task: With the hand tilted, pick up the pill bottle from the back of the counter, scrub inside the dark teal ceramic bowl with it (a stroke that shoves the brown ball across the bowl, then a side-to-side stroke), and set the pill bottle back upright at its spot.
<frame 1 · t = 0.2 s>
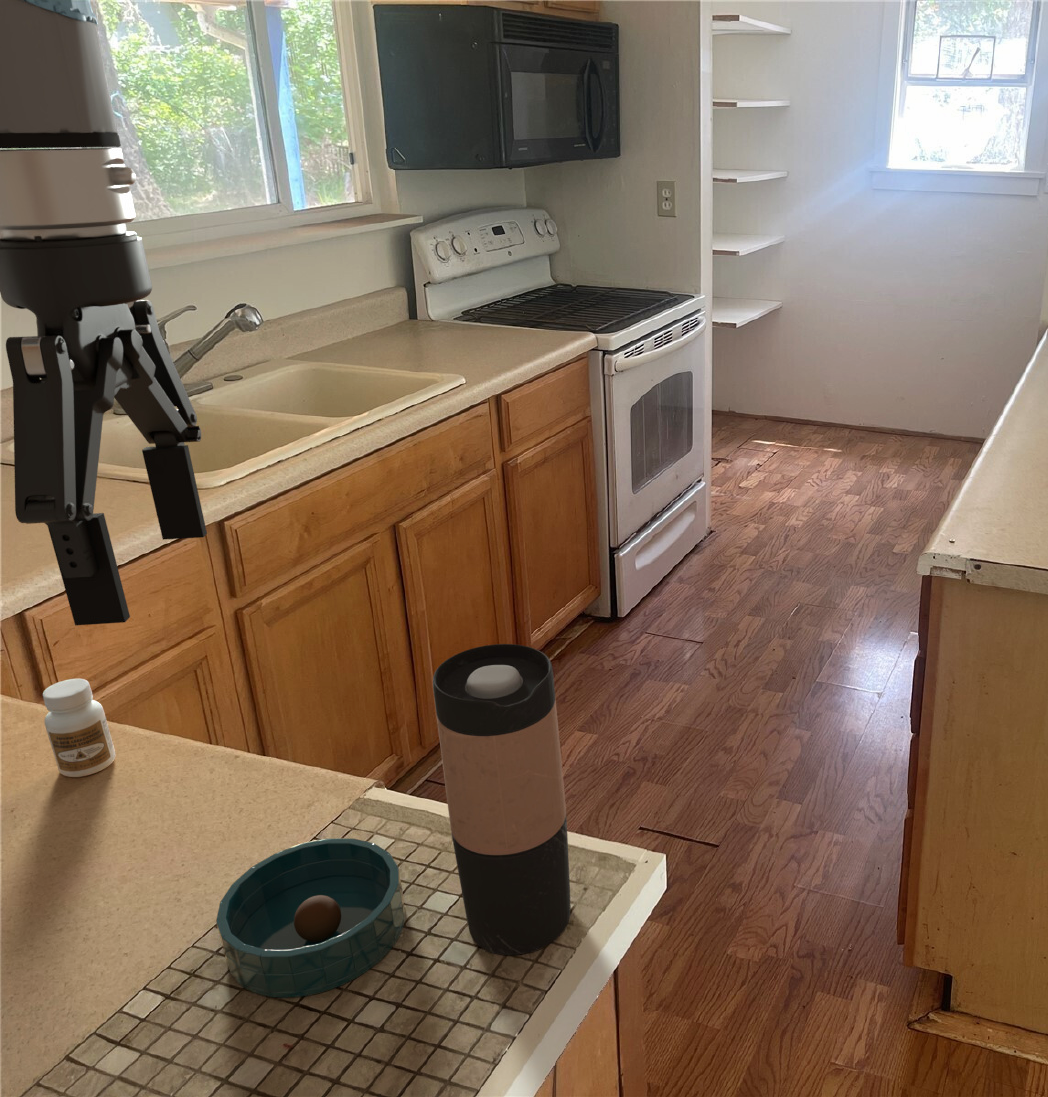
hand: (148, 575, 66), 25 cm above the countertop, tool pointing down, fingers open, 13 cm apart
bowl: (318, 932, 72), on the countertop
travel mug: (520, 920, 73), on the countertop
pill bottle: (89, 766, 91), on the countertop
brown ball: (317, 918, 70), point 2 cm above the countertop, touching bowl
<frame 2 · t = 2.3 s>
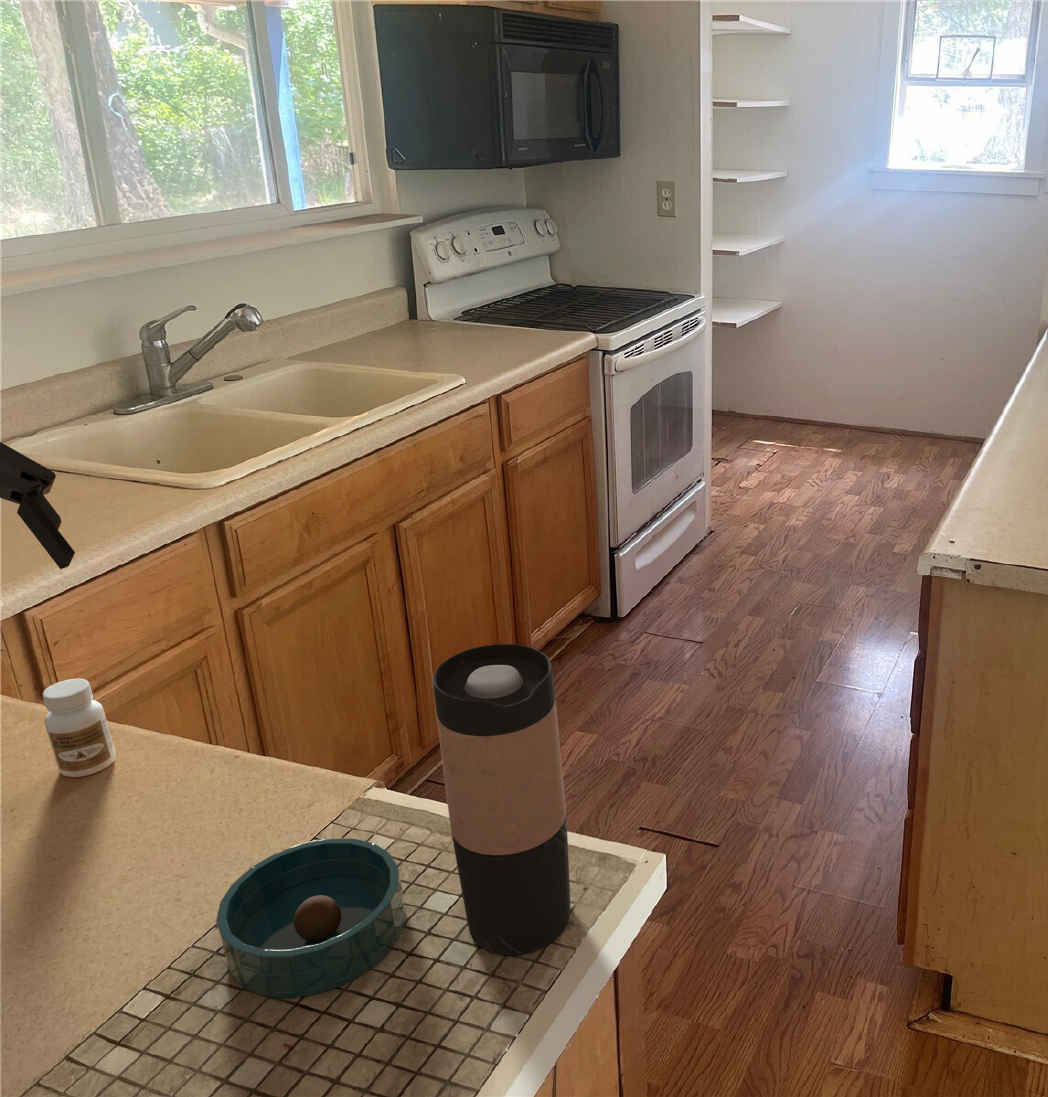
nothing on the countertop moved.
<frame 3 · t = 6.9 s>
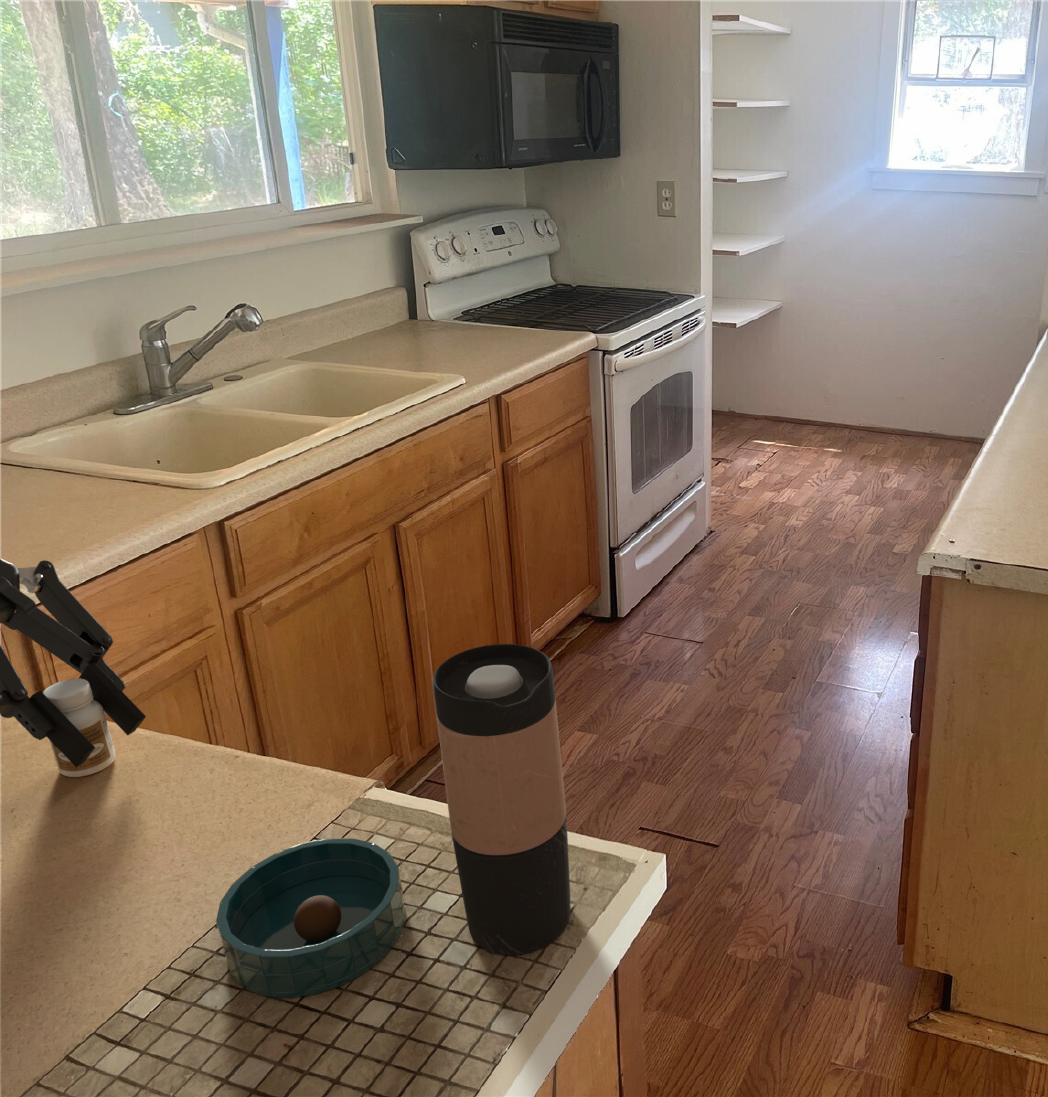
hand: (111, 740, 88), 3 cm above the countertop, tool tilted 45°, fingers closed on pill bottle, 4 cm apart
pill bottle: (88, 766, 91), on the countertop, touching gripper
everything else where it was.
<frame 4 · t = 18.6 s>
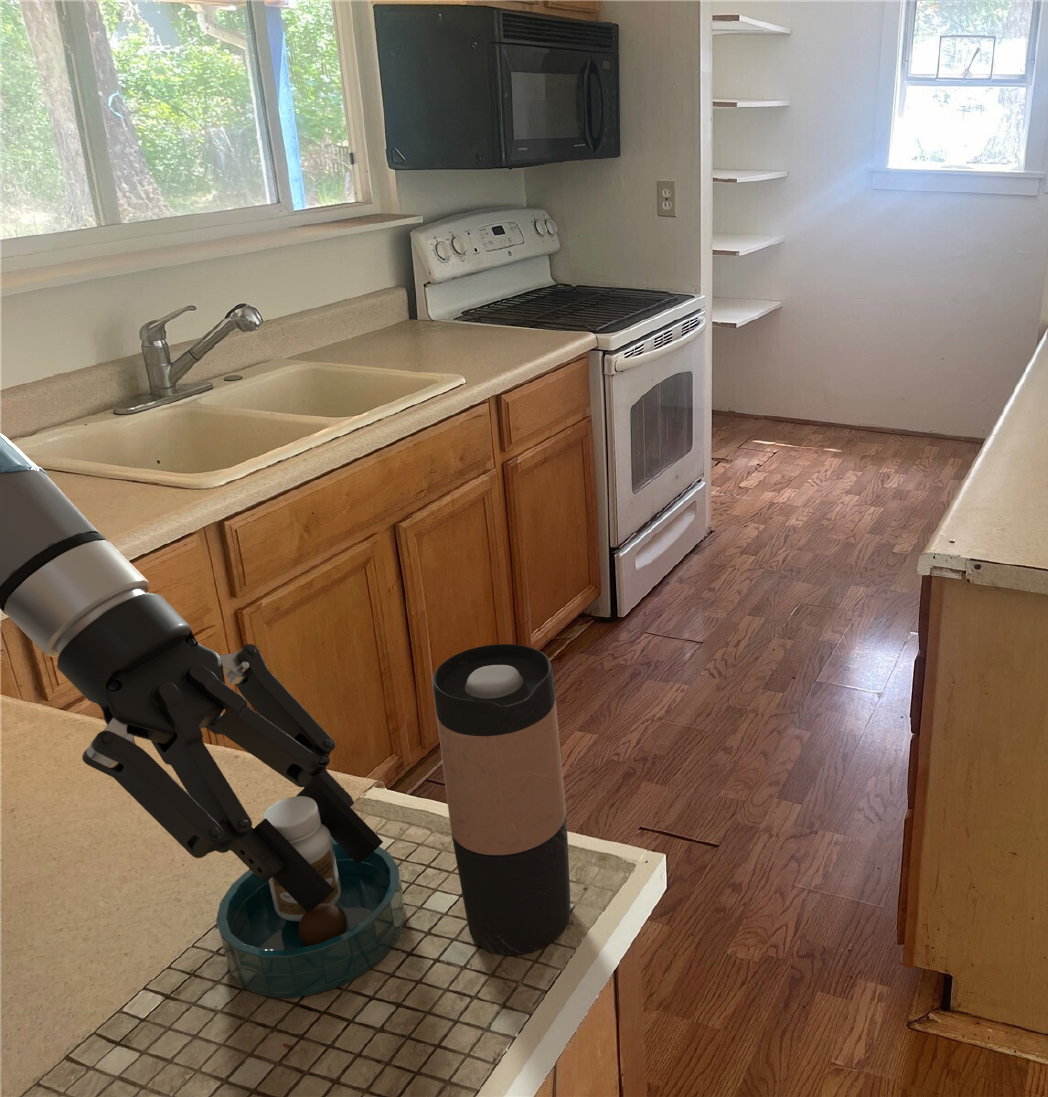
hand: (346, 876, 70), 5 cm above the countertop, tool tilted 45°, fingers closed on pill bottle, 4 cm apart
pill bottle: (309, 903, 72), point 1 cm above the countertop, touching gripper
brown ball: (322, 926, 69), point 2 cm above the countertop, tilted 38°, touching bowl, gripper
everything else where it was.
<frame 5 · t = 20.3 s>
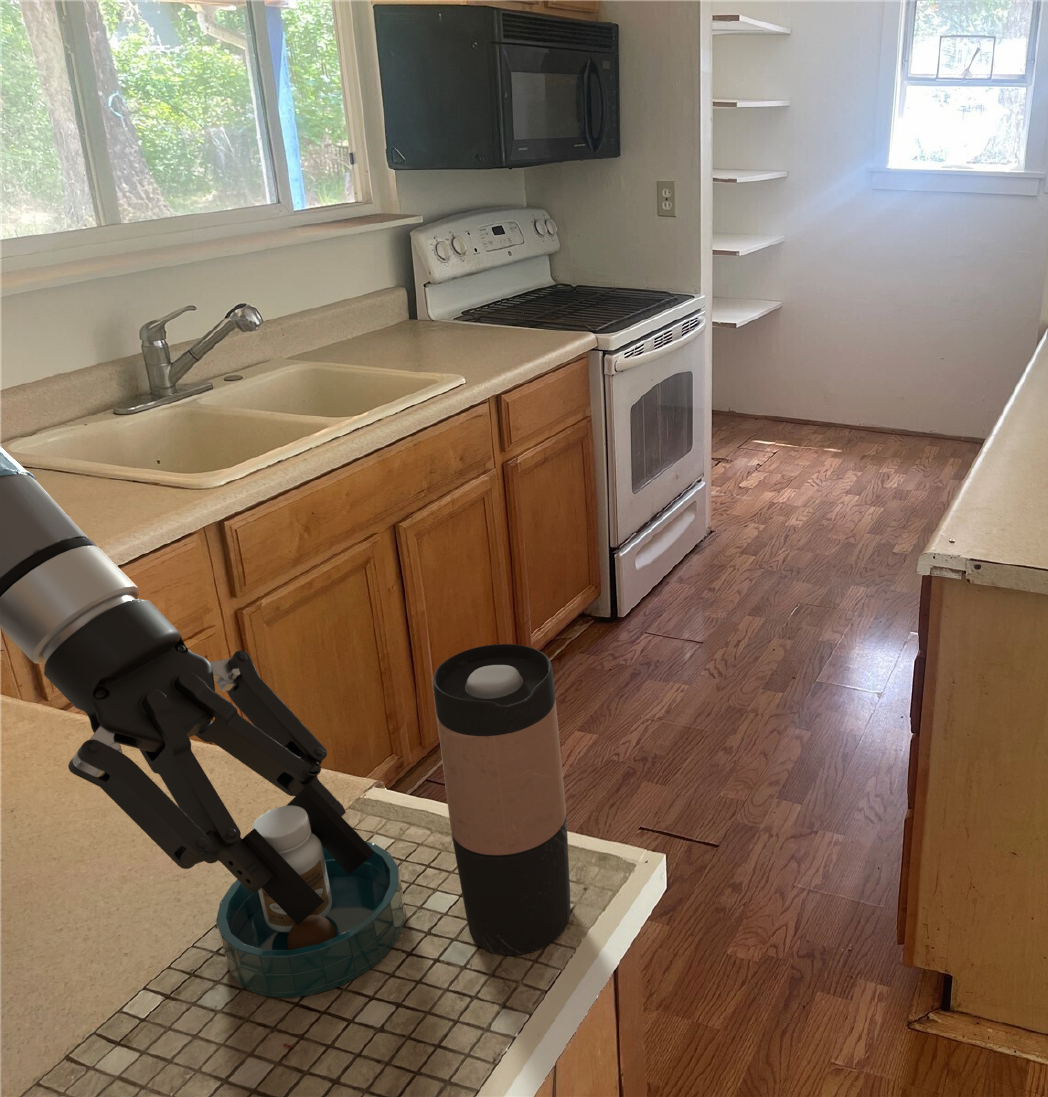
hand: (336, 887, 69), 5 cm above the countertop, tool tilted 45°, fingers closed on pill bottle, 4 cm apart
pill bottle: (300, 914, 71), point 1 cm above the countertop, touching gripper
brown ball: (311, 938, 68), point 2 cm above the countertop, tilted 45°, touching bowl, gripper
everything else where it was.
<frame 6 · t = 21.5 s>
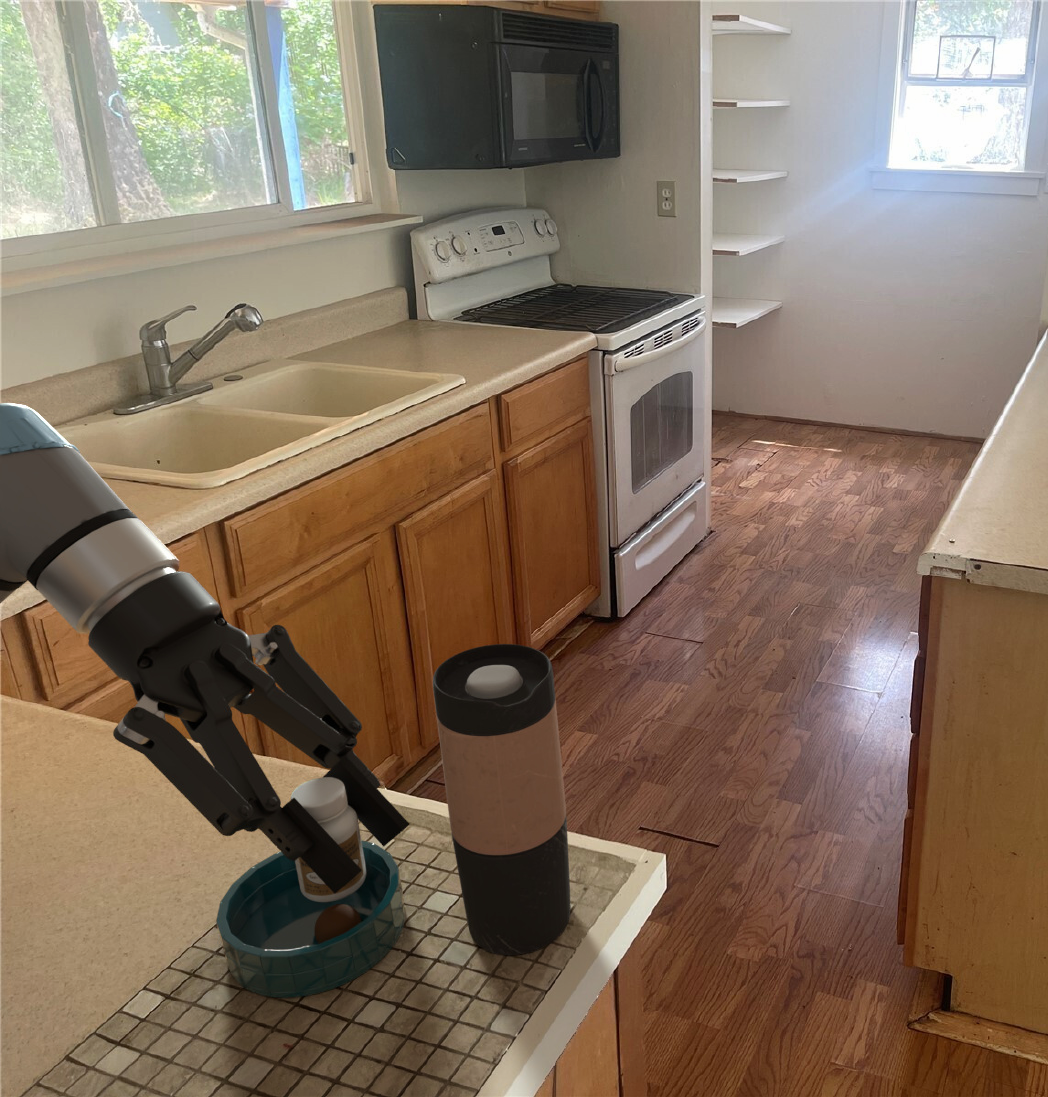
hand: (372, 857, 70), 6 cm above the countertop, tool tilted 45°, fingers closed on pill bottle, 4 cm apart
pill bottle: (334, 885, 72), point 3 cm above the countertop, touching gripper
brown ball: (338, 927, 69), point 2 cm above the countertop, tilted 52°, touching bowl
everything else where it was.
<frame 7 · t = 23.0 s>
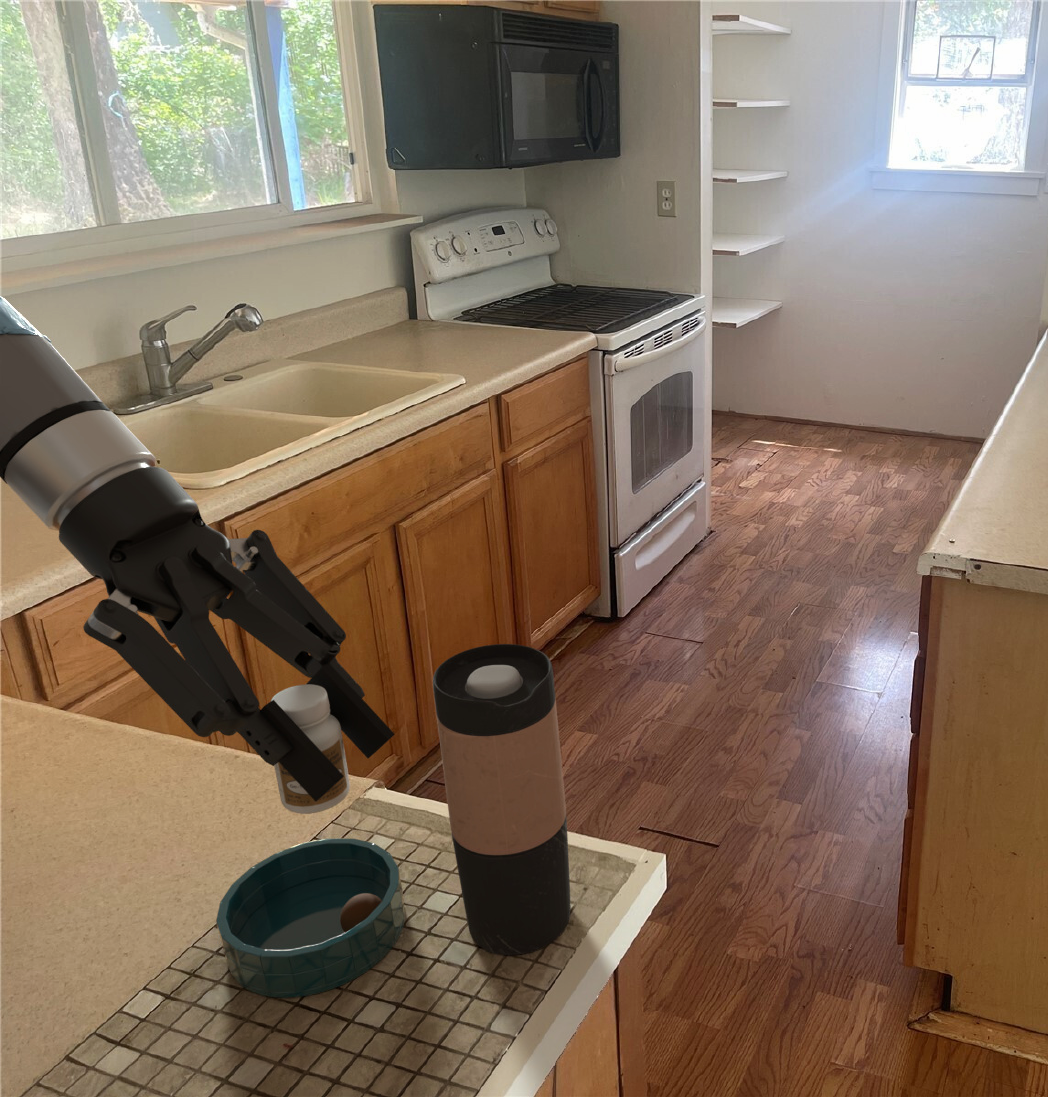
hand: (356, 766, 67), 13 cm above the countertop, tool tilted 45°, fingers closed on pill bottle, 4 cm apart
pill bottle: (317, 798, 70), point 10 cm above the countertop, touching gripper
brown ball: (363, 916, 70), point 2 cm above the countertop, tilted 101°, touching bowl
everything else where it was.
when the fingers open (3 cm above the countertop, at t = 32.9 s): pill bottle stays where it is, on the countertop.
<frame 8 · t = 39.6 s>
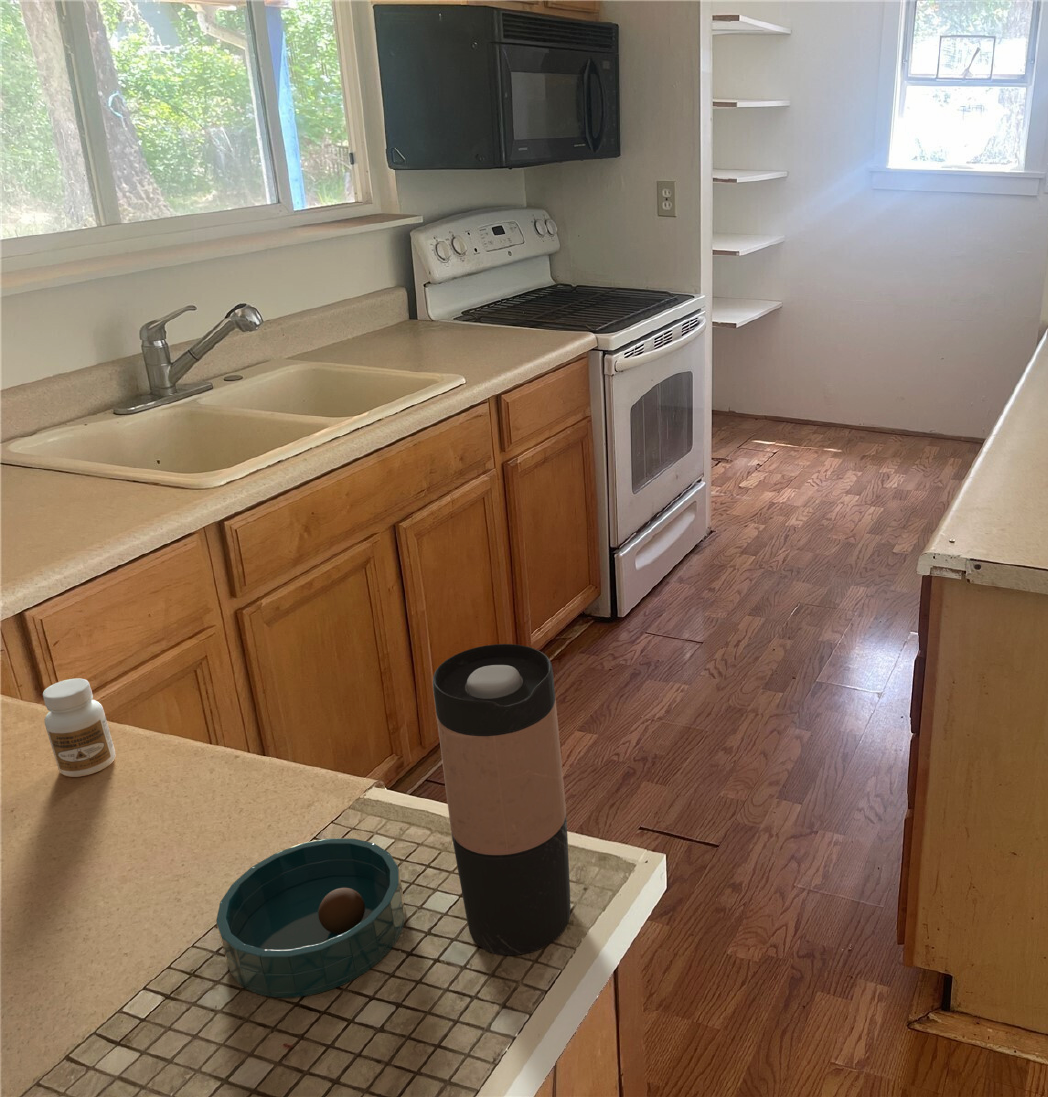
pill bottle: (89, 765, 91), on the countertop
brown ball: (341, 910, 71), point 2 cm above the countertop, tilted 37°, touching bowl
everything else where it was.
at the end: brown ball moved 1.6 cm from its start; pill bottle 0.0 cm from the target spot, on the countertop; pill bottle tilted 0° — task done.
